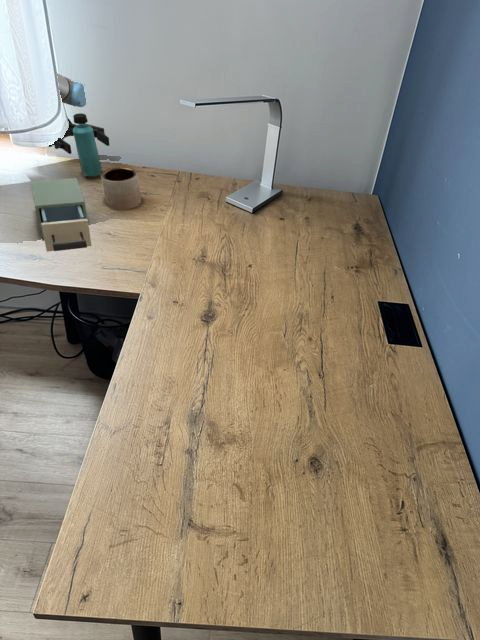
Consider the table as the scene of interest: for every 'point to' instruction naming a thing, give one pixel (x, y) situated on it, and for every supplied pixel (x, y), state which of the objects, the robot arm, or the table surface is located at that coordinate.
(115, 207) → the planter
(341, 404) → the table surface
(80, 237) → the drawer
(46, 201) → the green drawer cabinet
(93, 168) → the beverage bottle
